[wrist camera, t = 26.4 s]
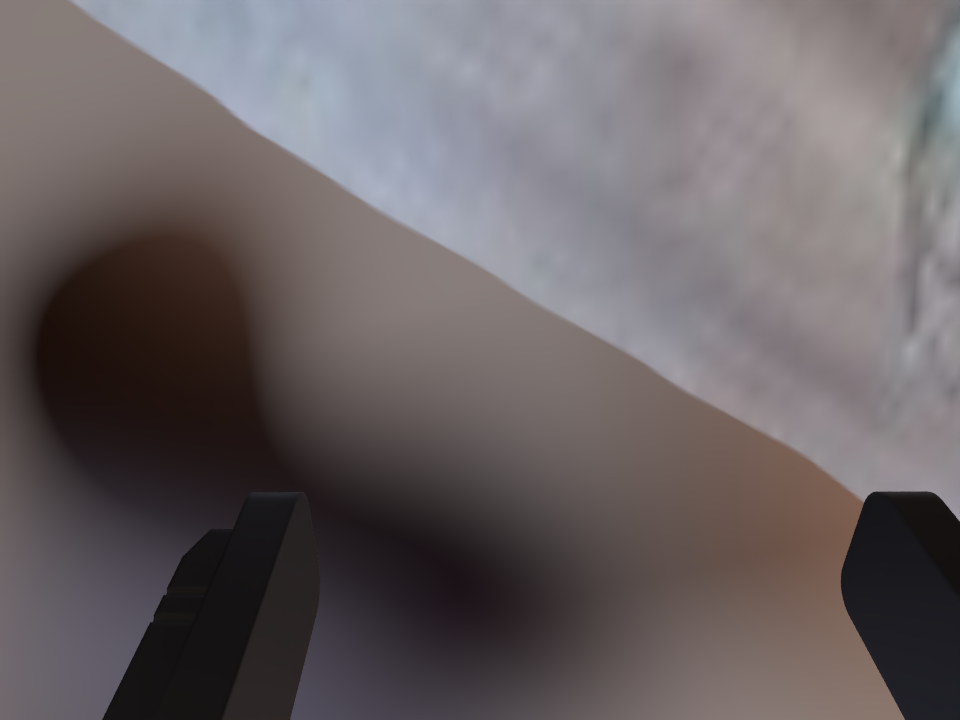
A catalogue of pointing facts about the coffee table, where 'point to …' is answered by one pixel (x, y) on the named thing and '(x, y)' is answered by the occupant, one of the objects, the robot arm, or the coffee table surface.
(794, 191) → the coffee table surface
